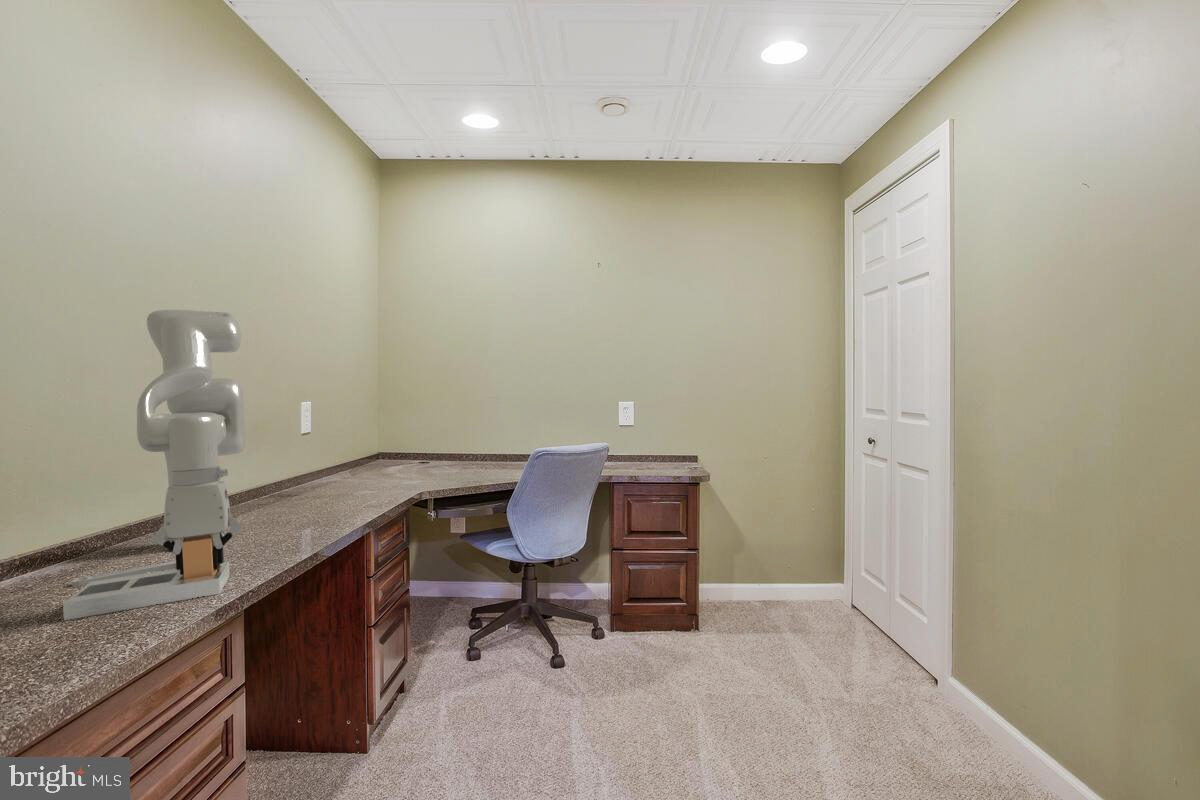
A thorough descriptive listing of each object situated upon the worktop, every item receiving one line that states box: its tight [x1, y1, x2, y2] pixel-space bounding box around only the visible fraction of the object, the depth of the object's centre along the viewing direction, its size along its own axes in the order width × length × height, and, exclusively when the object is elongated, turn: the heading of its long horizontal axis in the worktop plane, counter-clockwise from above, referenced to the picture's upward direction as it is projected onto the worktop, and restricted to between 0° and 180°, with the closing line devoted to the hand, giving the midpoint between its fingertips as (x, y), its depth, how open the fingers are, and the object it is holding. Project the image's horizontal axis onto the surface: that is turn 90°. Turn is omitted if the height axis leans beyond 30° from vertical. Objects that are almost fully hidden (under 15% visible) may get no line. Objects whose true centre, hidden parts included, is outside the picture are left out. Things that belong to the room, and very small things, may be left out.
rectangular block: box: [182, 535, 217, 579], centre depth 105 cm, size 4×4×8 cm
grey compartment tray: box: [62, 560, 231, 622], centre depth 102 cm, size 12×22×3 cm, turn 117°
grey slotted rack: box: [71, 560, 176, 587], centre depth 118 cm, size 25×6×2 cm, turn 122°
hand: (200, 569), depth 106 cm, fingers closed on rectangular block, 4 cm apart
